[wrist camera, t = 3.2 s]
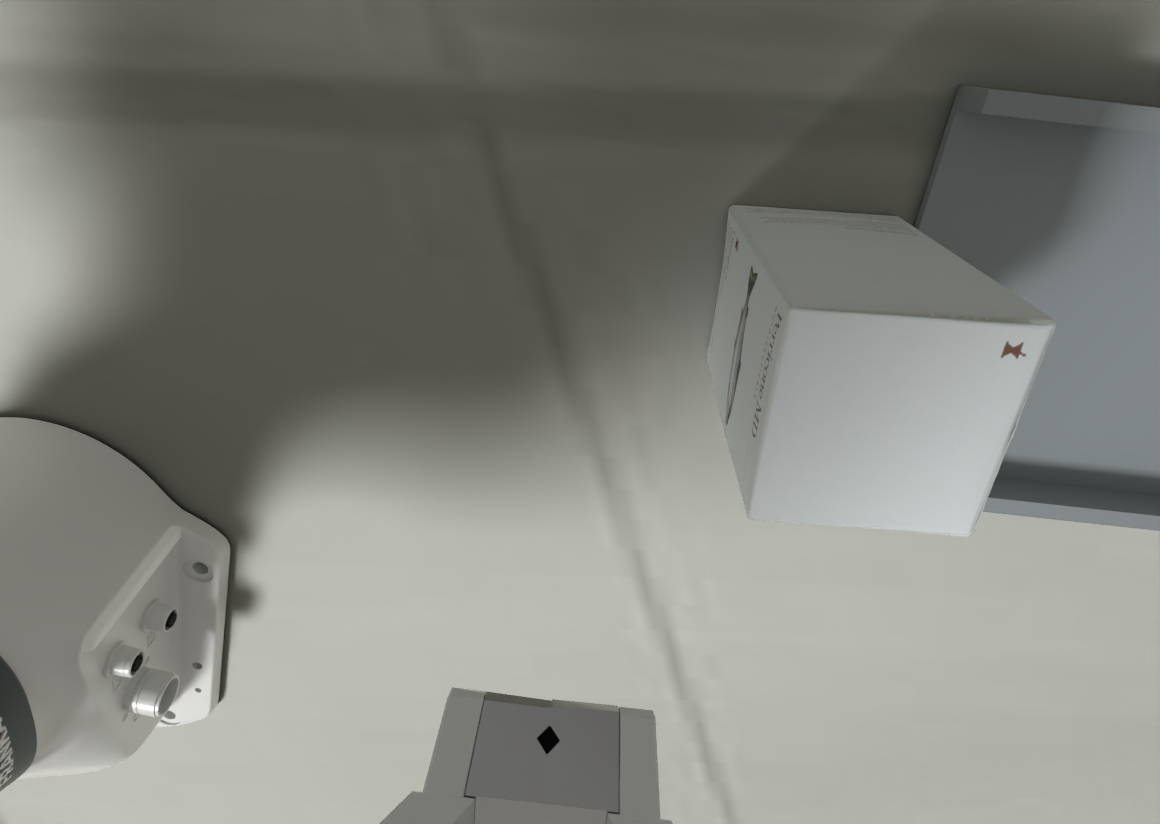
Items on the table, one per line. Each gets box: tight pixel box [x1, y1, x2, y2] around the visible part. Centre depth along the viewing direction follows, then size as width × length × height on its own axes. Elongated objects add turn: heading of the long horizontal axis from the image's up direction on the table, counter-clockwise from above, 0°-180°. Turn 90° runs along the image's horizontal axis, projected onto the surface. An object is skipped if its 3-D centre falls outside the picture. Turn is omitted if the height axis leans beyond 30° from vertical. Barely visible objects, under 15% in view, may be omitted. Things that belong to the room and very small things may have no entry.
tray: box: [914, 85, 1160, 531], centre depth 30 cm, size 18×22×2 cm
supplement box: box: [706, 205, 1056, 537], centre depth 26 cm, size 7×7×13 cm
